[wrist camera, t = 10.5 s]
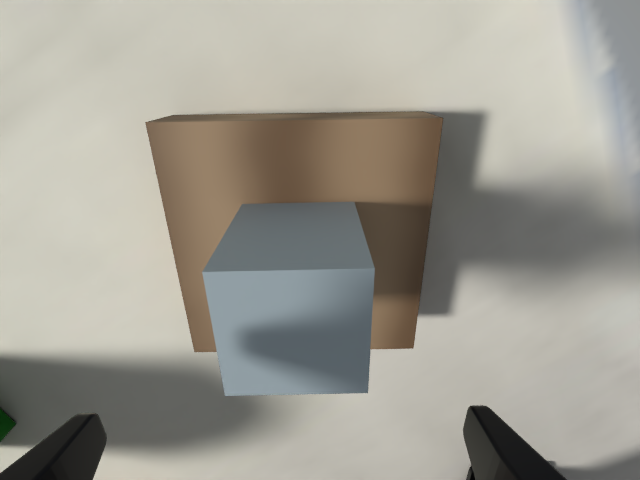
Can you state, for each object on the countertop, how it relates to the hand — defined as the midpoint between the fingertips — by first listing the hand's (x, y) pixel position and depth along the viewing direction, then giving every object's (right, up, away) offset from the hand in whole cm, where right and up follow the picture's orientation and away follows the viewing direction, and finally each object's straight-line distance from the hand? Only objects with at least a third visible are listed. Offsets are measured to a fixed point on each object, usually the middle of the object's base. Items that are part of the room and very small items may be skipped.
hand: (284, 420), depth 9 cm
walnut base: (0, +5, +11) cm, 12 cm away
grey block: (0, +4, +8) cm, 9 cm away
